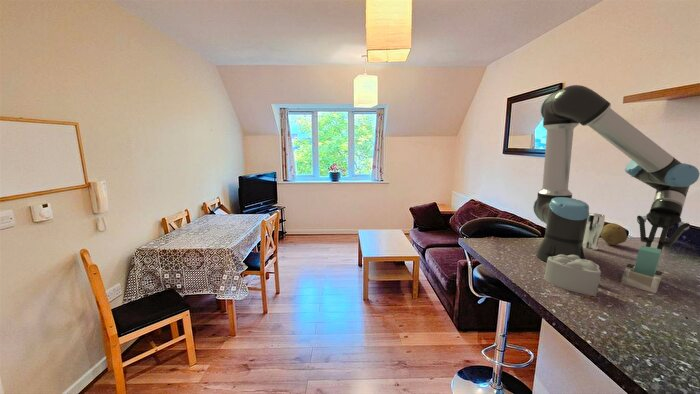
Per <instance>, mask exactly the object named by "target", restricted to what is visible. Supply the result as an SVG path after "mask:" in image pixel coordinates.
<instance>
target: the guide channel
mask: <svg viewBox="0 0 700 394" xmlns="http://www.w3.org/2000/svg"><path fill="white" fill-rule="evenodd" d="M634 268H635V264H633V263H628V264H627V265H626V267H625V269H623V273H622V277H621V283H620V284H623V285H627V286H630V287H633V288H636V289H640V290H643V291H647V292H650V293H653V294H657V291H658V289H659V287H660V283H661V279H662V276H663V271H661V270H657V271H656V272H655V275H654V277H651V276H647V275H644V274H640V273H636V272H634Z"/></svg>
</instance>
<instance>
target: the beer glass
mask: <svg viewBox="0 0 700 394" xmlns="http://www.w3.org/2000/svg"><path fill="white" fill-rule="evenodd" d="M605 219H606V215H605V214H601V213H596V212H589V216H588V220H587V225H586V229H585V234H584V239H583V249H588V250H591V251H598V242H599V239H600V238H601V236H600V235H601V233H602V230H603V227H604V226H605Z"/></svg>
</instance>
